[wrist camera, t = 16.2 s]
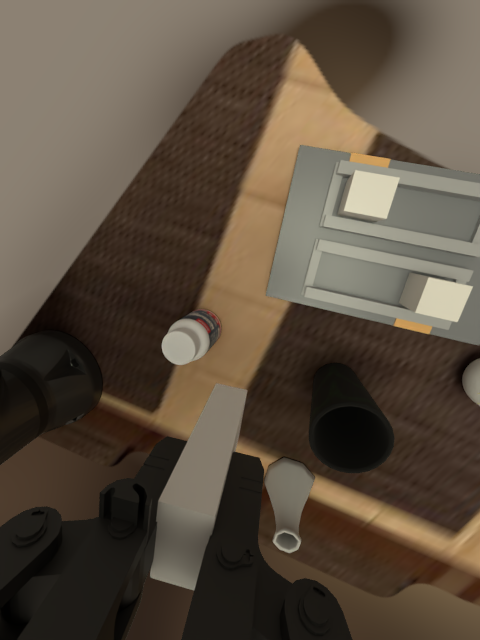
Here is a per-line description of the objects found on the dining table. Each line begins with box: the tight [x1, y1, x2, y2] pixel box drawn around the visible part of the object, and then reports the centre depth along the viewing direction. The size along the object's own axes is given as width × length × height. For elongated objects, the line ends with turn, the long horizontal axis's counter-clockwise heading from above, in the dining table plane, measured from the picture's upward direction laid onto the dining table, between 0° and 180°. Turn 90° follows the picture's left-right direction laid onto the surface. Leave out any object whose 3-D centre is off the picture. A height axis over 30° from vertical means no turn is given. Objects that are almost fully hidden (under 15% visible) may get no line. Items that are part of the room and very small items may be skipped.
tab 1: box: [337, 170, 400, 223], centre depth 30 cm, size 4×4×5 cm
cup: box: [309, 363, 394, 473], centre depth 33 cm, size 8×8×12 cm
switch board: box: [266, 145, 480, 345], centre depth 32 cm, size 25×17×3 cm
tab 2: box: [399, 273, 473, 322], centre depth 31 cm, size 4×4×5 cm
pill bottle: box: [162, 309, 221, 365], centre depth 36 cm, size 5×5×9 cm
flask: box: [264, 457, 315, 553], centre depth 39 cm, size 7×7×10 cm
